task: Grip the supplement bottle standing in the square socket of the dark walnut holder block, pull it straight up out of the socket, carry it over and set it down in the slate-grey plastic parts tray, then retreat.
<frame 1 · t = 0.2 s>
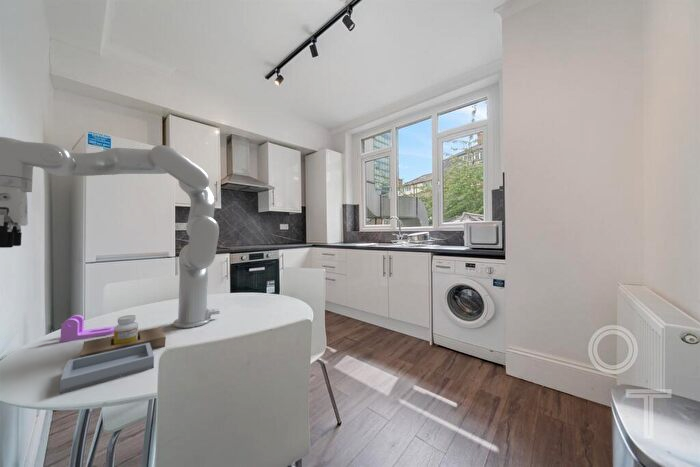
hand: (7, 246, 67), 31 cm above the table, tool pointing down, fingers open, 9 cm apart
bracket: (92, 336, 84), on the table
parts tray: (111, 370, 63), on the table
supplement bottle: (125, 349, 74), resting in socket holder
socket holder: (125, 348, 74), on the table
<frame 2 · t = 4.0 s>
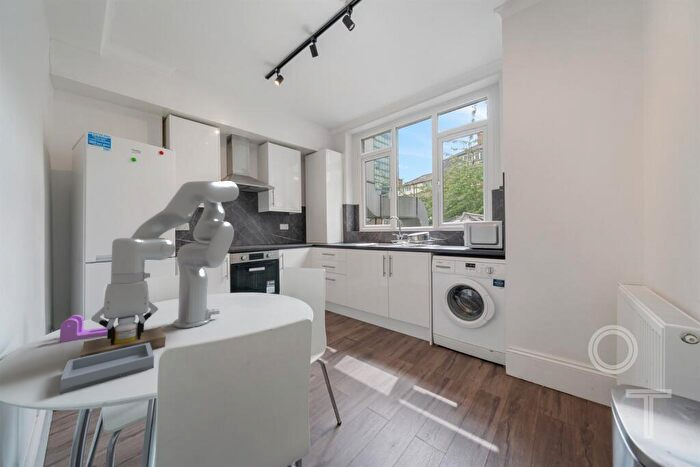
hand: (126, 337, 74), 3 cm above the table, tool pointing down, fingers closed on supplement bottle, 5 cm apart
supplement bottle: (125, 349, 74), resting in socket holder, touching gripper
everything else where it was.
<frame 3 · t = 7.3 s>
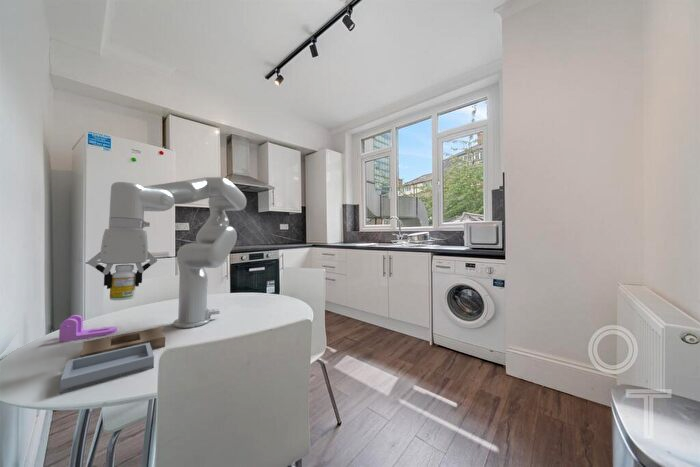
hand: (123, 286, 71), 20 cm above the table, tool pointing down, fingers closed on supplement bottle, 5 cm apart
supplement bottle: (122, 299, 71), point 16 cm above the table, touching gripper
everything else where it was.
when the fingers open (6 cm above the table, at t = 10.9 s): supplement bottle drops 1 cm, resting on parts tray.
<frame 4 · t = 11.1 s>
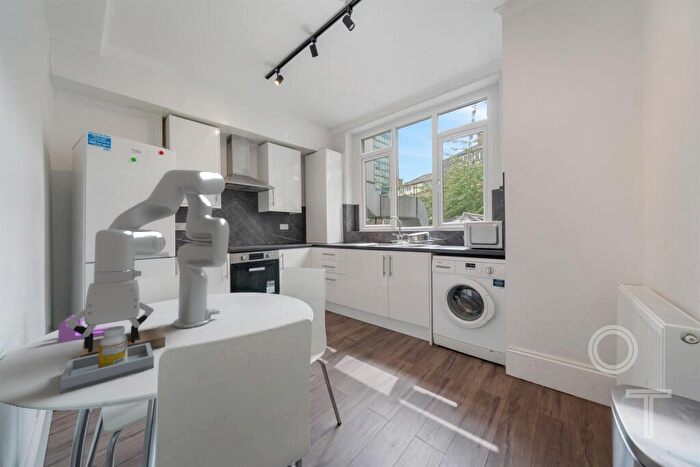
hand: (112, 345, 63), 6 cm above the table, tool pointing down, fingers open, 7 cm apart
supplement bottle: (113, 366, 63), point 1 cm above the table, touching parts tray
everything else where it was.
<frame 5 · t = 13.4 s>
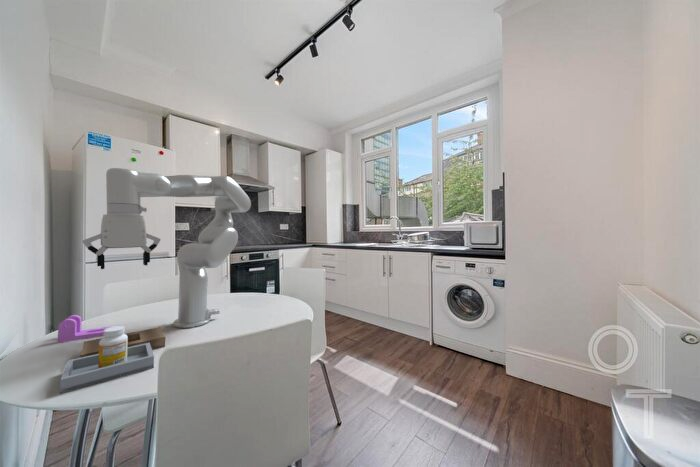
hand: (125, 266, 75), 25 cm above the table, tool pointing down, fingers open, 9 cm apart
nothing on the table moved.
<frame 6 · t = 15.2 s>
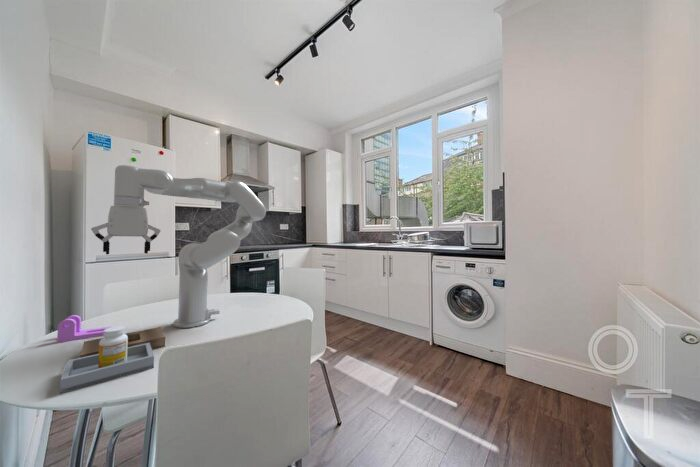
hand: (127, 253, 83), 28 cm above the table, tool pointing down, fingers open, 9 cm apart
nothing on the table moved.
at the end: supplement bottle inside the target area on the parts tray (0.4 cm from its centre), point 0.6 cm above the parts tray's base; supplement bottle moved 13.1 cm from its start; the gripper is holding nothing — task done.
